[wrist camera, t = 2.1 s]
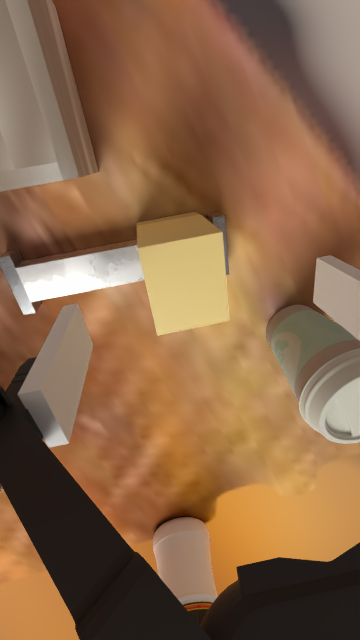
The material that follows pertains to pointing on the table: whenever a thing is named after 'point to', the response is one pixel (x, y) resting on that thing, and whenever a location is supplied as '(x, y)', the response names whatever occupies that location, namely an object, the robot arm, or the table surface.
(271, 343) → the coffee cup
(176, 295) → the carriage
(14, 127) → the grey open box
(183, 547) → the vodka
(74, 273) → the rail
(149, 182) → the table surface
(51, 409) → the robot arm
